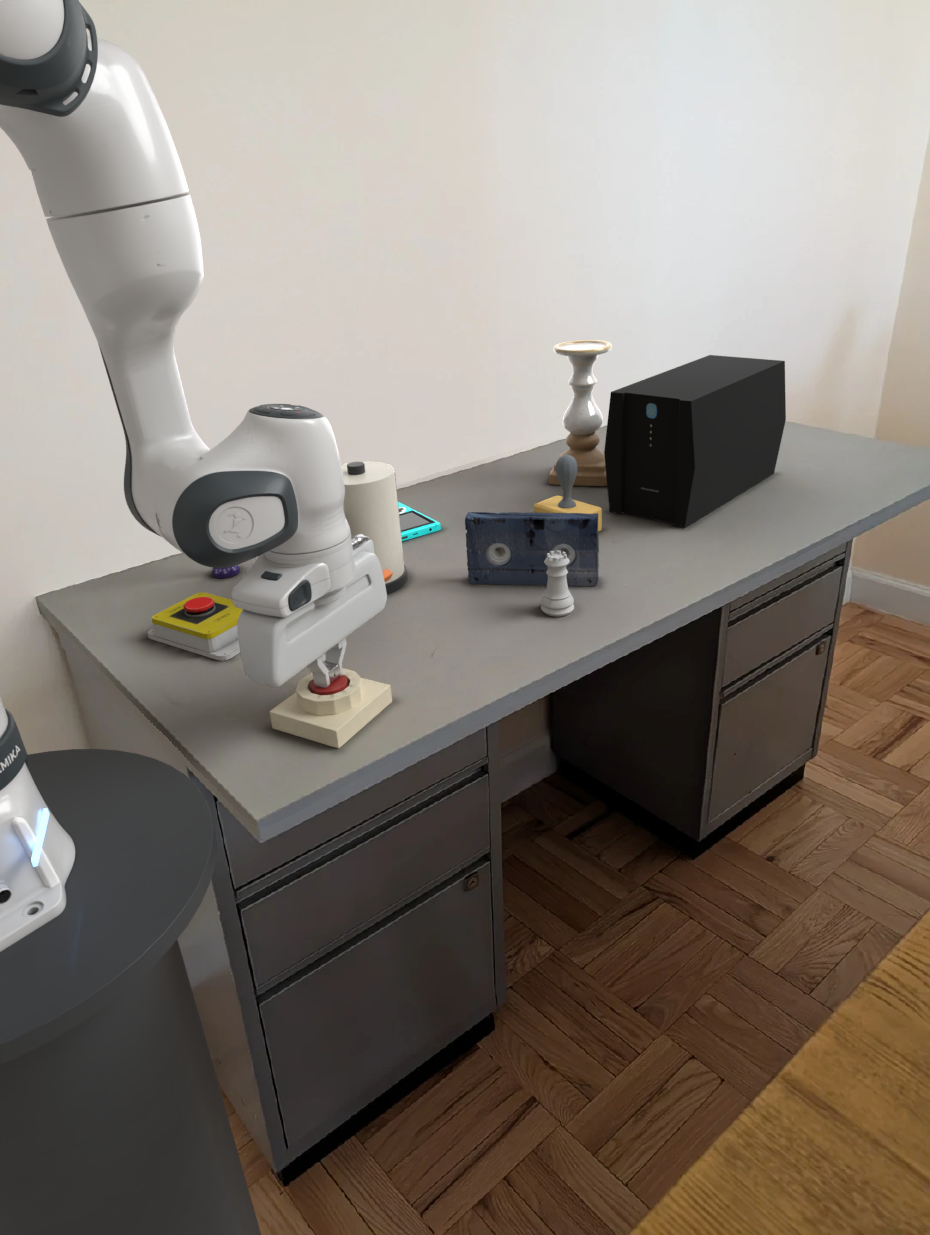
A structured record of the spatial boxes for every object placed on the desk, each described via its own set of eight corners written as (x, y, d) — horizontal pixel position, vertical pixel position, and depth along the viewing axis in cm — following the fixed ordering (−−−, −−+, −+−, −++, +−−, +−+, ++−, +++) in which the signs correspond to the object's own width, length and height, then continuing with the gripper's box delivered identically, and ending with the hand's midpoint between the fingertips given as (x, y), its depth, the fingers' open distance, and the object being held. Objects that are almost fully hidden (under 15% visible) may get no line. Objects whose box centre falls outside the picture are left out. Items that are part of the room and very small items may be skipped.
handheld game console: (395, 505, 159) (395, 498, 159) (443, 529, 147) (442, 522, 146) (345, 518, 154) (344, 511, 154) (390, 545, 142) (389, 537, 142)
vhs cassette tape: (599, 579, 126) (599, 512, 122) (597, 587, 123) (598, 519, 119) (471, 575, 130) (467, 510, 125) (467, 583, 127) (463, 518, 123)
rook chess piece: (566, 620, 115) (565, 563, 112) (535, 614, 117) (533, 558, 114) (580, 606, 119) (579, 550, 115) (549, 600, 121) (548, 545, 117)
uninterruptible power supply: (603, 510, 150) (604, 390, 141) (702, 458, 172) (708, 352, 163) (691, 529, 140) (698, 402, 131) (784, 472, 162) (795, 359, 153)
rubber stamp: (533, 525, 146) (530, 453, 141) (557, 515, 150) (556, 445, 144) (578, 539, 139) (578, 465, 134) (603, 529, 143) (603, 456, 137)
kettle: (373, 607, 122) (358, 483, 114) (310, 594, 127) (291, 475, 119) (428, 568, 133) (418, 452, 125) (368, 557, 138) (354, 445, 130)
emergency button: (191, 580, 123) (270, 600, 116) (198, 609, 125) (276, 630, 118) (137, 607, 117) (217, 630, 109) (144, 637, 119) (224, 662, 111)
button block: (338, 748, 93) (333, 716, 91) (272, 728, 97) (266, 697, 95) (392, 701, 100) (389, 670, 98) (328, 684, 104) (324, 654, 103)
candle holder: (608, 486, 161) (609, 350, 150) (548, 484, 164) (545, 351, 153) (616, 468, 170) (618, 338, 160) (559, 466, 173) (557, 339, 163)
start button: (334, 709, 95) (331, 695, 94) (304, 700, 97) (302, 687, 96) (356, 691, 98) (354, 677, 97) (327, 683, 100) (325, 669, 99)
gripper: (346, 524, 100) (361, 633, 106) (218, 599, 84) (244, 721, 91) (393, 531, 97) (405, 643, 103) (269, 610, 81) (292, 736, 88)
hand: (329, 680), depth 97 cm, fingers closed, pressing on start button
